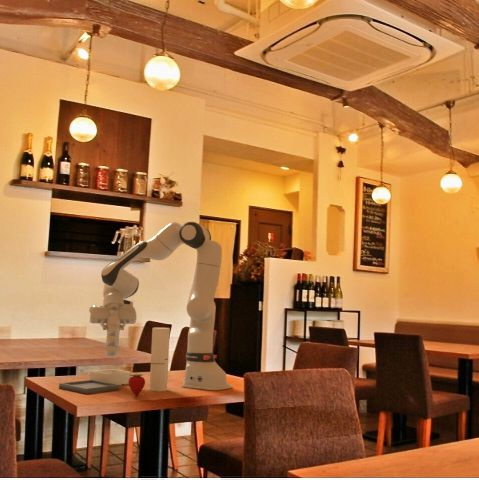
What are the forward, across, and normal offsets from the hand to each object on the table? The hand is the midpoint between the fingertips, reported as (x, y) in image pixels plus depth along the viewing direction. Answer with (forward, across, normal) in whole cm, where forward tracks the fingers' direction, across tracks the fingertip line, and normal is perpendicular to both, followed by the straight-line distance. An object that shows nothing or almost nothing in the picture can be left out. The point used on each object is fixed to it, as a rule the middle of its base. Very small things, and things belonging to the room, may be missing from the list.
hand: (113, 329), depth 242 cm
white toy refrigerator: (+30, +18, +4) cm, 35 cm away
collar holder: (+16, 0, +17) cm, 23 cm away
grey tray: (+26, -9, +6) cm, 29 cm away
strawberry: (+40, +7, -7) cm, 41 cm away
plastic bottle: (+8, 0, +9) cm, 12 cm away
